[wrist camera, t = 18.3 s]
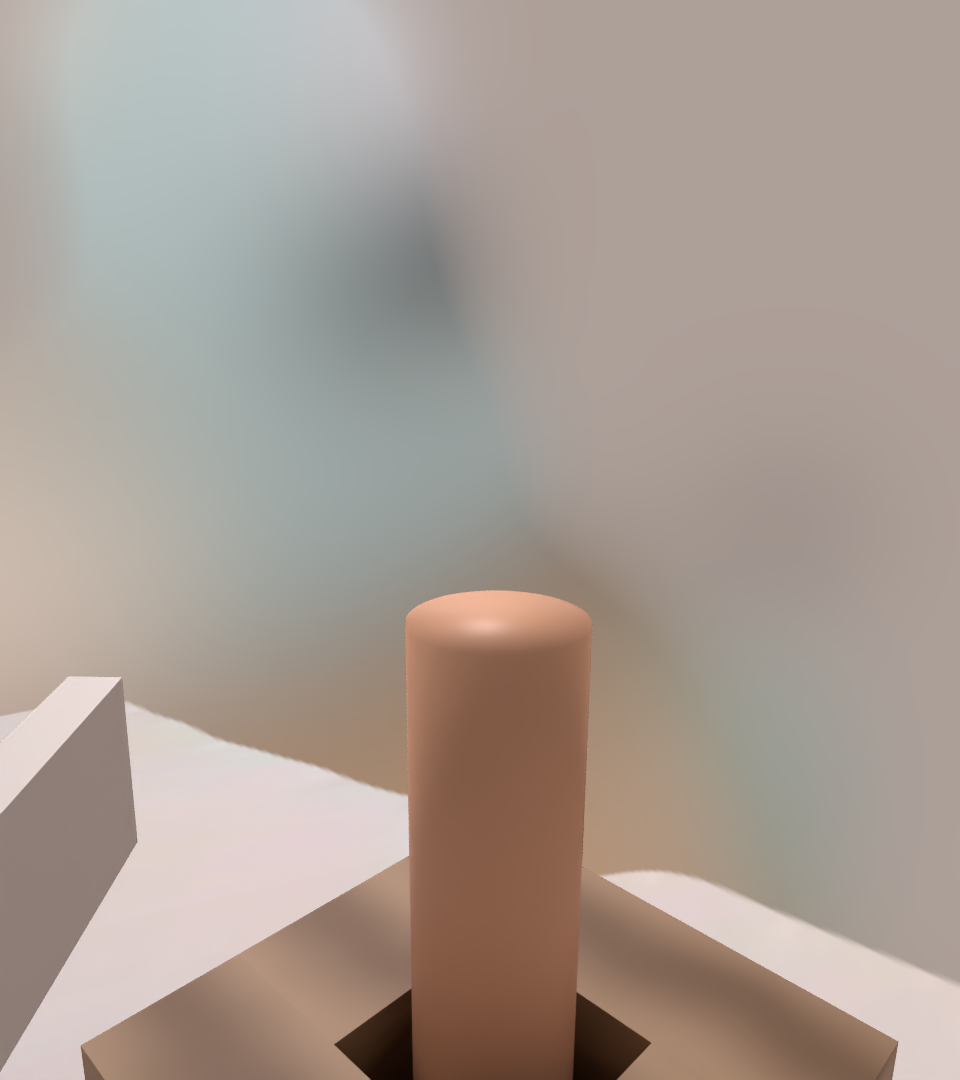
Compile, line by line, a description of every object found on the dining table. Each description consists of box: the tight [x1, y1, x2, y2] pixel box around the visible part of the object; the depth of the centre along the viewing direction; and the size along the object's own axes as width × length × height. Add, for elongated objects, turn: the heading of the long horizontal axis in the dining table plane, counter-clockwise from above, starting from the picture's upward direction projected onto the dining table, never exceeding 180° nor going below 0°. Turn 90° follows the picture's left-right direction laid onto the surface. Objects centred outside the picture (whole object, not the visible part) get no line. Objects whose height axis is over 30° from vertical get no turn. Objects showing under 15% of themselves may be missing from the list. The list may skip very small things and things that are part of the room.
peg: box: [406, 591, 592, 1080], centre depth 25 cm, size 5×5×18 cm
